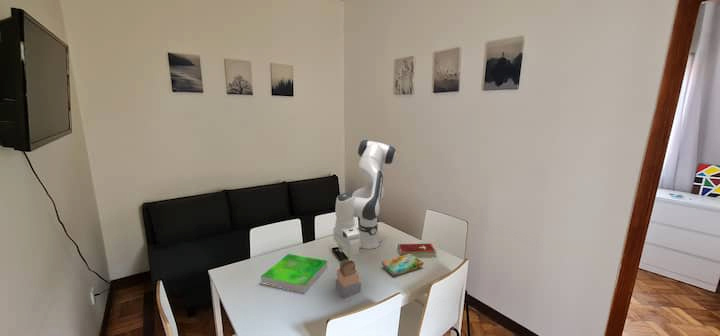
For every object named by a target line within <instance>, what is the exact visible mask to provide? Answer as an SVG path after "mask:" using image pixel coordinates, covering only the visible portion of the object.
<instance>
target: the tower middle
mask: <svg viewBox="0 0 720 336" xmlns="http://www.w3.org/2000/svg"><path fill="white" fill-rule="evenodd" d="M336 279H337V280H338V281H339V282H340V283H341V284H342V286H343V287H347V286H350V285H354V284H357V283H359V282H360V273H359V272H358V271H357V269H355V273H354V274H351V275H348V276H344V275H343V273H342V272H341V271H340V268H339V269H336Z"/></svg>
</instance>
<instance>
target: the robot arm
mask: <svg viewBox="0 0 720 336" xmlns="http://www.w3.org/2000/svg"><path fill="white" fill-rule="evenodd" d="M357 154H358V157H359V156H360V159H359V162H358V165H357V169H358V172H359V173H360V175H361V176H362V177H363V178H364V180H365V181H366V185H365V186H364V187H361V188H358V189H356V190H355V191H354V192H352V193H349V192H342V193H340V194H339V195H337V196H336V200H335V213H334V214H335V217H336V220H335V224H334V228H333V233H332V234H333V236H332V237H333V241H335V242H336V243H337V248H338V251H339V253H343V252H344V250H345V251H346V252H347V253H348V255H347V259H348V260H349V261H351V260H352V261H353V257H354V256H356V255H358V254H359V253H360V249H367V250H372V249H376V248H378V247H379V246H380V243H381V241H382V240H381V239H380V231H379V229H378V227H379V226H378V217H379V214H380V210H381V199H382V198H384V196H385V189H384V187H383V181H384V176H383V175H384V171H385V165H391V164H392V163H393V162H394V161H395V160H396V156H397V150H396V148H395V147H394V146H392V145H388V144H386V143H383V142H378V141H374V140H373V141H372V140H368V139H363V140H361V141H360V143H359V144H358V146H357ZM355 218H359V222H358V224H357V225H358V228H357V226H356V224H355V223H356V222H355Z"/></svg>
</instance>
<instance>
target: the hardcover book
mask: <svg viewBox="0 0 720 336" xmlns="http://www.w3.org/2000/svg"><path fill="white" fill-rule="evenodd" d="M397 250H398V251H399V255H400V256H404V255H408V254H412V255H413V256H415V257H416V258H418V259H419V258H436V254H437V251H436V249H435V247H434V246H433V244H432V243H398V244H397Z"/></svg>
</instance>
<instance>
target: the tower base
mask: <svg viewBox="0 0 720 336" xmlns="http://www.w3.org/2000/svg"><path fill="white" fill-rule="evenodd" d="M361 286H362V283H361V282H360V281H359V283H357V284H354V285H350V286H347V287H343V286H342V284H341V283H340V282H339V281H338V280H337V278H336V279H335V290H336V291H337V292H338V293H339V294H340V295H341V296H342V297H343V298H344V299H345V298H349V297H351V296H354V295H357V294H359V293H361V292H362V287H361Z"/></svg>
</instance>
